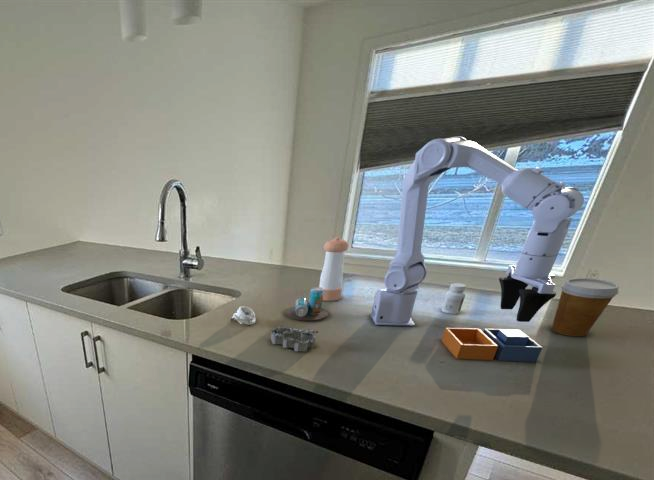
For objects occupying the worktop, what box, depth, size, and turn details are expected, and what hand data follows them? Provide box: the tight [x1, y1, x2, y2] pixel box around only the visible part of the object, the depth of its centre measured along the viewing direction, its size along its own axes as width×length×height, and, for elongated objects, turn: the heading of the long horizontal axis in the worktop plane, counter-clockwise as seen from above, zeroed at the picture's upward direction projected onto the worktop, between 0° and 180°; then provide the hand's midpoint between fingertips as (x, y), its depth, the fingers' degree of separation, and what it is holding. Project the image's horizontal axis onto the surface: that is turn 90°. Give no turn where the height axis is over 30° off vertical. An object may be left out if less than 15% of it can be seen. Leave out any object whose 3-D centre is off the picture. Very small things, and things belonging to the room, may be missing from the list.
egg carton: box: [269, 325, 319, 353], centre depth 105 cm, size 11×8×4 cm
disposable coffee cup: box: [551, 277, 620, 337], centre depth 96 cm, size 10×10×12 cm
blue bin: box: [482, 328, 543, 363], centre depth 92 cm, size 7×10×4 cm
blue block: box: [496, 329, 530, 346], centre depth 92 cm, size 4×4×4 cm
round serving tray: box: [285, 286, 329, 322], centre depth 121 cm, size 12×12×8 cm
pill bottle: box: [441, 282, 467, 315], centre depth 114 cm, size 4×4×8 cm
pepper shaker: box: [317, 236, 350, 302], centre depth 129 cm, size 7×7×19 cm
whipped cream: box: [230, 305, 256, 326], centre depth 121 cm, size 8×7×5 cm
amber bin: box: [441, 327, 498, 361], centre depth 95 cm, size 7×10×4 cm
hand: (514, 314), depth 91 cm, fingers open, 7 cm apart
